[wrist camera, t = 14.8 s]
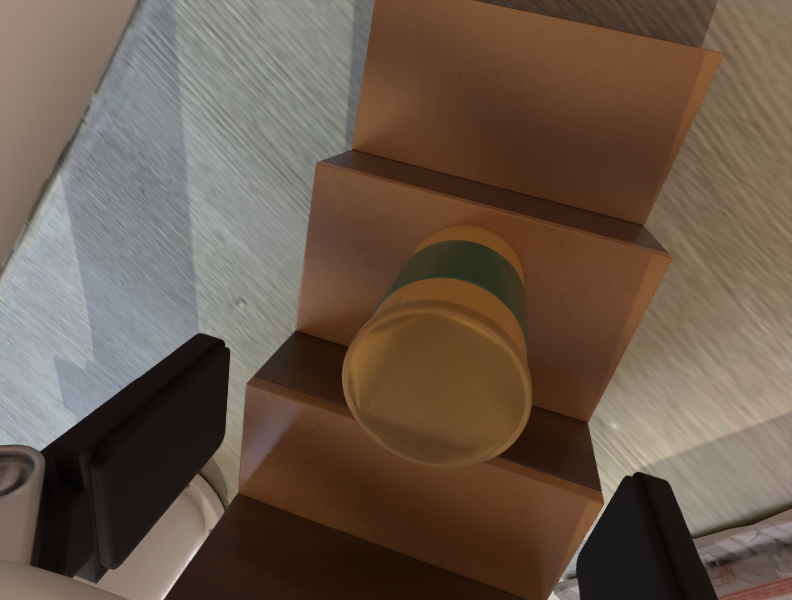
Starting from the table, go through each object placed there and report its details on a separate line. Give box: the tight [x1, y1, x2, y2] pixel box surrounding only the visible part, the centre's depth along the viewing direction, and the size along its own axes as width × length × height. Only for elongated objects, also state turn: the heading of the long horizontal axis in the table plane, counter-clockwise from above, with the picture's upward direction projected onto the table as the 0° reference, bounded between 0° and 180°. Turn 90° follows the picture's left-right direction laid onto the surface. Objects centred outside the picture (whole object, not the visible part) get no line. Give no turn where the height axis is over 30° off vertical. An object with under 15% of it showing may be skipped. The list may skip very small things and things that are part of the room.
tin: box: [342, 225, 532, 468], centre depth 16 cm, size 5×5×8 cm
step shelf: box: [164, 0, 724, 600], centre depth 18 cm, size 22×14×19 cm, turn 166°
